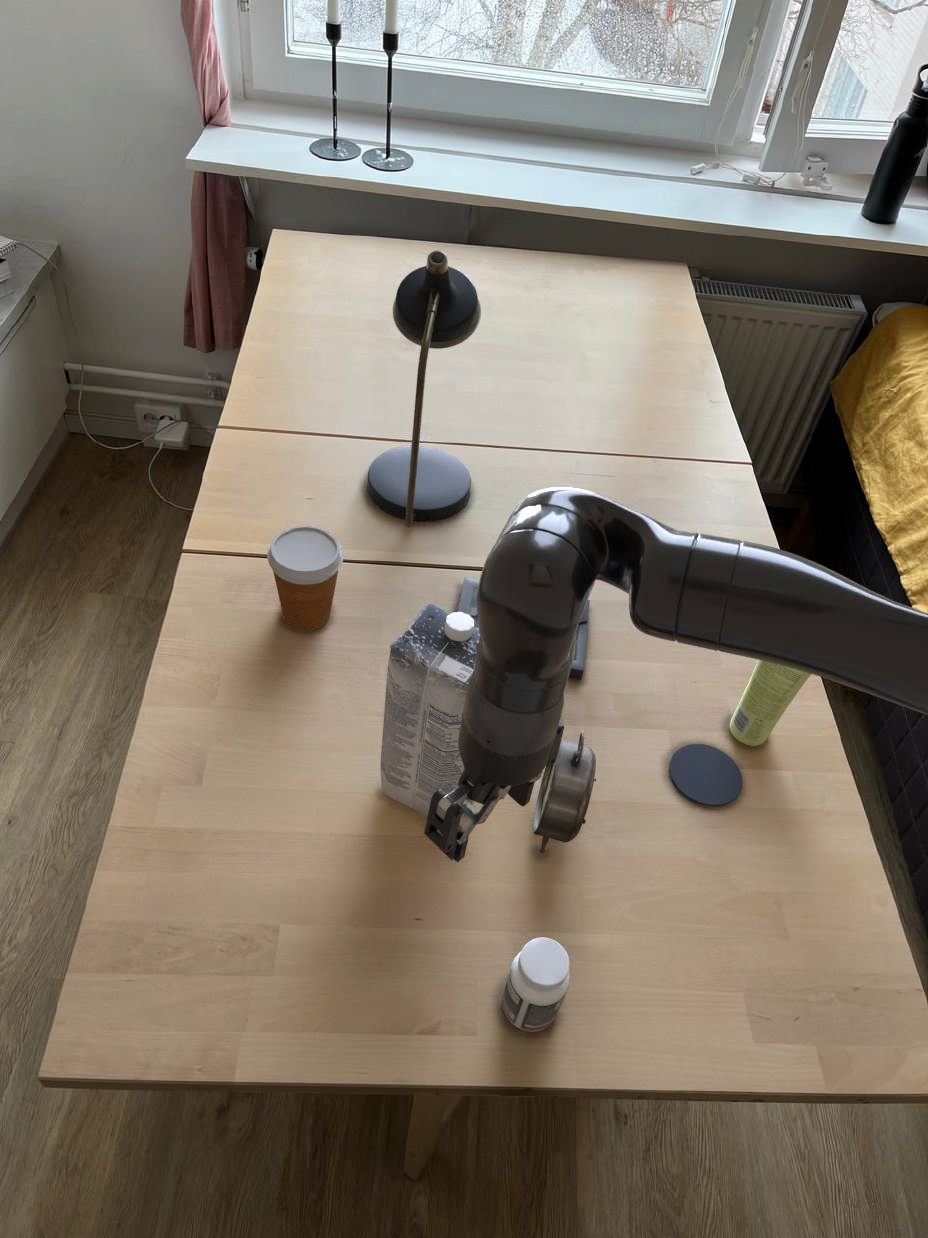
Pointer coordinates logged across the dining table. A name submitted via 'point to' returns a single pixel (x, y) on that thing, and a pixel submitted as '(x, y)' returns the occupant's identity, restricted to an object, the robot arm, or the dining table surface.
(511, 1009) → the pill bottle
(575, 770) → the alarm clock
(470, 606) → the picture frame
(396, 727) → the juice carton
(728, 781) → the coaster
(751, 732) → the tube
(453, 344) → the lamp
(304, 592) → the disposable coffee cup
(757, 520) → the dining table surface
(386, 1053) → the dining table surface
